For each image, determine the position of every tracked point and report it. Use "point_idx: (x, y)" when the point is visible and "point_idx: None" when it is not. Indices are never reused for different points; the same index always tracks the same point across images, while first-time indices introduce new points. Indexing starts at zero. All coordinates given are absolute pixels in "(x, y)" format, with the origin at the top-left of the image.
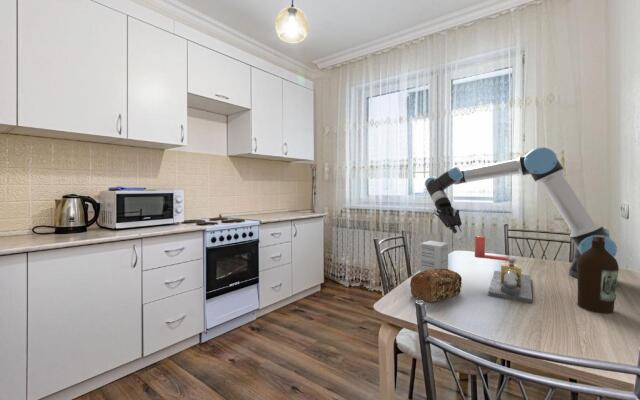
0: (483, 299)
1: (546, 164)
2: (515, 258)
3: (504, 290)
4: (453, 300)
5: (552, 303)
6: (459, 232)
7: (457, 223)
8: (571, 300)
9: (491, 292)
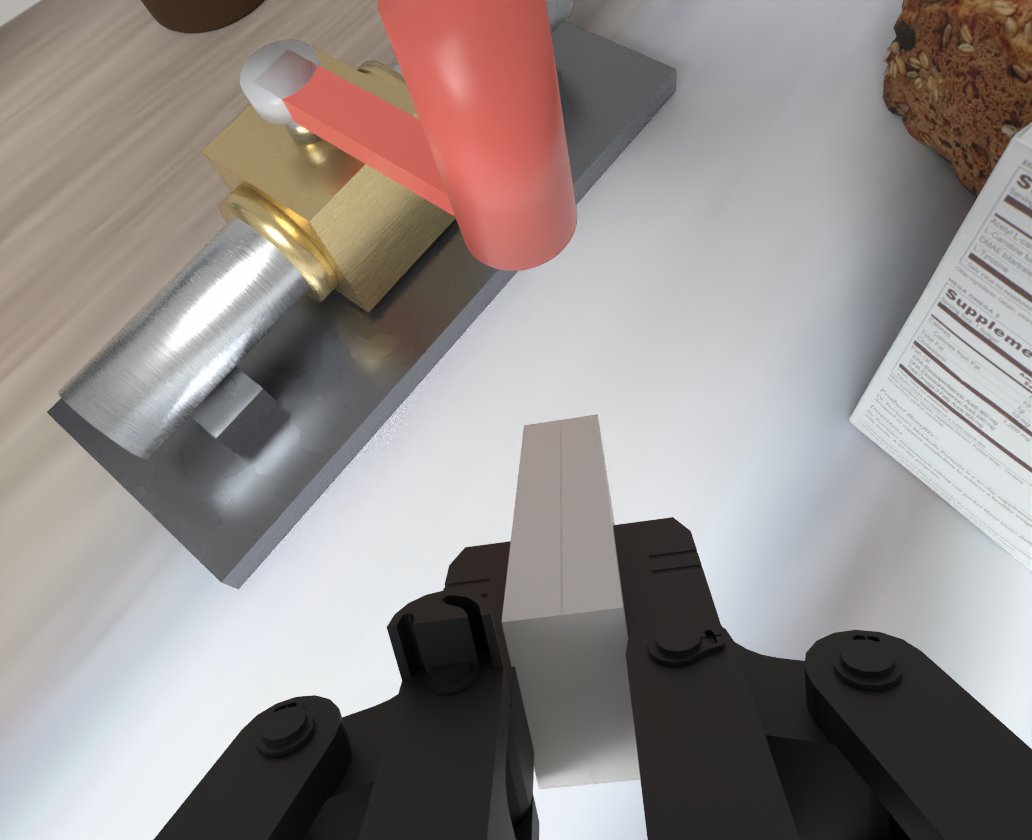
0: (749, 33)
1: None
2: (254, 58)
3: None
4: None
5: (370, 14)
6: (573, 470)
7: (432, 721)
8: (227, 56)
9: (658, 64)
